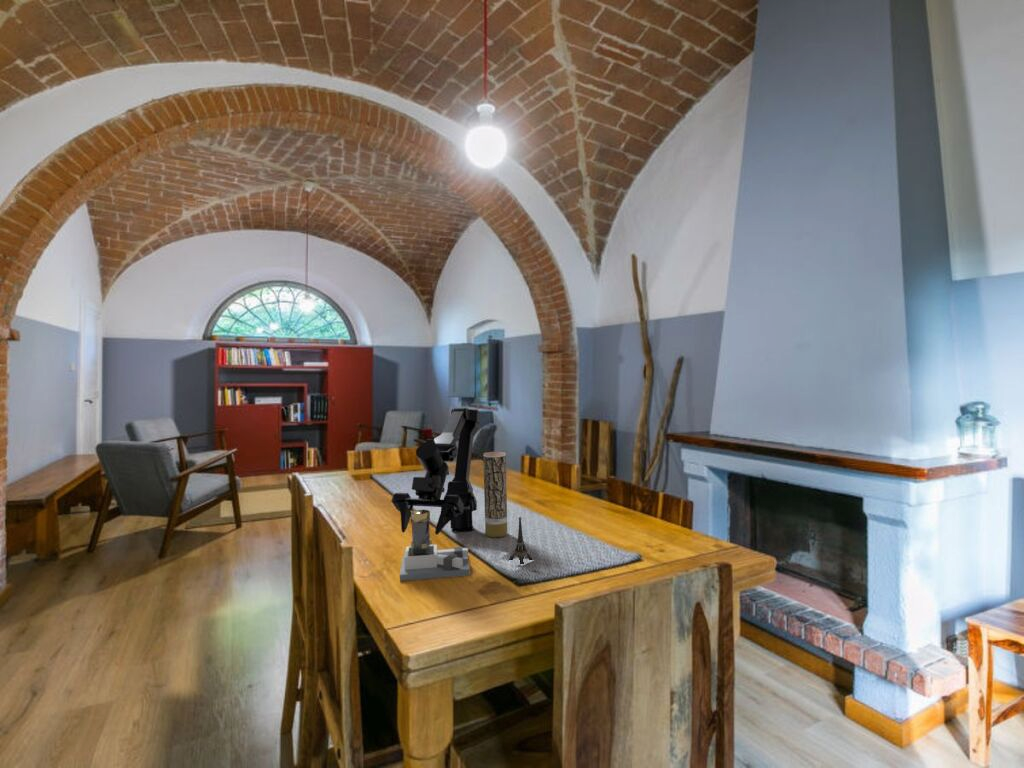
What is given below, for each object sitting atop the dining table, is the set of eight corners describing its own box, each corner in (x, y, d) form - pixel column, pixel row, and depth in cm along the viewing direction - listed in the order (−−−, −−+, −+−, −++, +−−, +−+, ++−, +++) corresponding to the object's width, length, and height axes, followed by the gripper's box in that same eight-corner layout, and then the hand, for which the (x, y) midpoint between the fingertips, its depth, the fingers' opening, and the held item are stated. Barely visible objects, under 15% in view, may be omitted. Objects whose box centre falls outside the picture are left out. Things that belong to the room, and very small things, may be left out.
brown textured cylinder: (504, 538, 152) (503, 455, 151) (482, 537, 153) (480, 455, 153) (509, 531, 159) (507, 451, 158) (488, 530, 160) (486, 451, 159)
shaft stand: (466, 554, 140) (466, 538, 140) (470, 576, 125) (469, 558, 125) (403, 559, 137) (403, 543, 137) (399, 582, 123) (399, 563, 123)
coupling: (428, 557, 135) (426, 508, 134) (434, 563, 130) (433, 513, 130) (408, 560, 132) (407, 511, 132) (414, 567, 128) (413, 516, 127)
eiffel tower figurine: (498, 553, 142) (497, 506, 141) (534, 552, 142) (534, 504, 142) (501, 575, 127) (500, 522, 126) (541, 573, 127) (540, 521, 127)
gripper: (393, 462, 137) (374, 515, 126) (459, 464, 132) (445, 519, 122) (407, 485, 145) (390, 536, 134) (469, 487, 140) (457, 540, 130)
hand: (419, 532), depth 130 cm, fingers open, 9 cm apart
